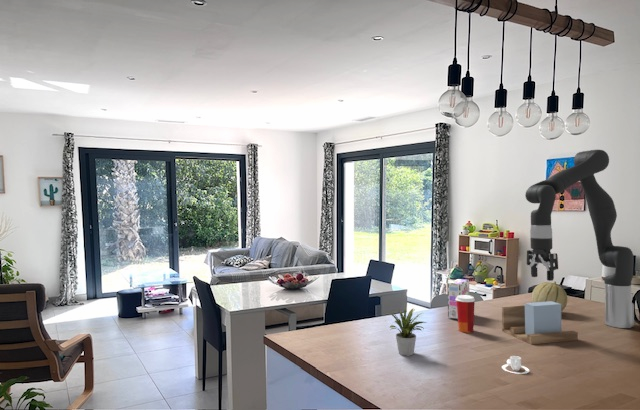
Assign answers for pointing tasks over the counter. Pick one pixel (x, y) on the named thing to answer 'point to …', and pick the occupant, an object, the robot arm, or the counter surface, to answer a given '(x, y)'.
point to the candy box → (454, 290)
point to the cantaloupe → (550, 294)
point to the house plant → (406, 332)
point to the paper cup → (465, 313)
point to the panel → (542, 317)
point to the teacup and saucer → (515, 364)
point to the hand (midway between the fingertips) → (542, 278)
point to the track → (516, 327)
